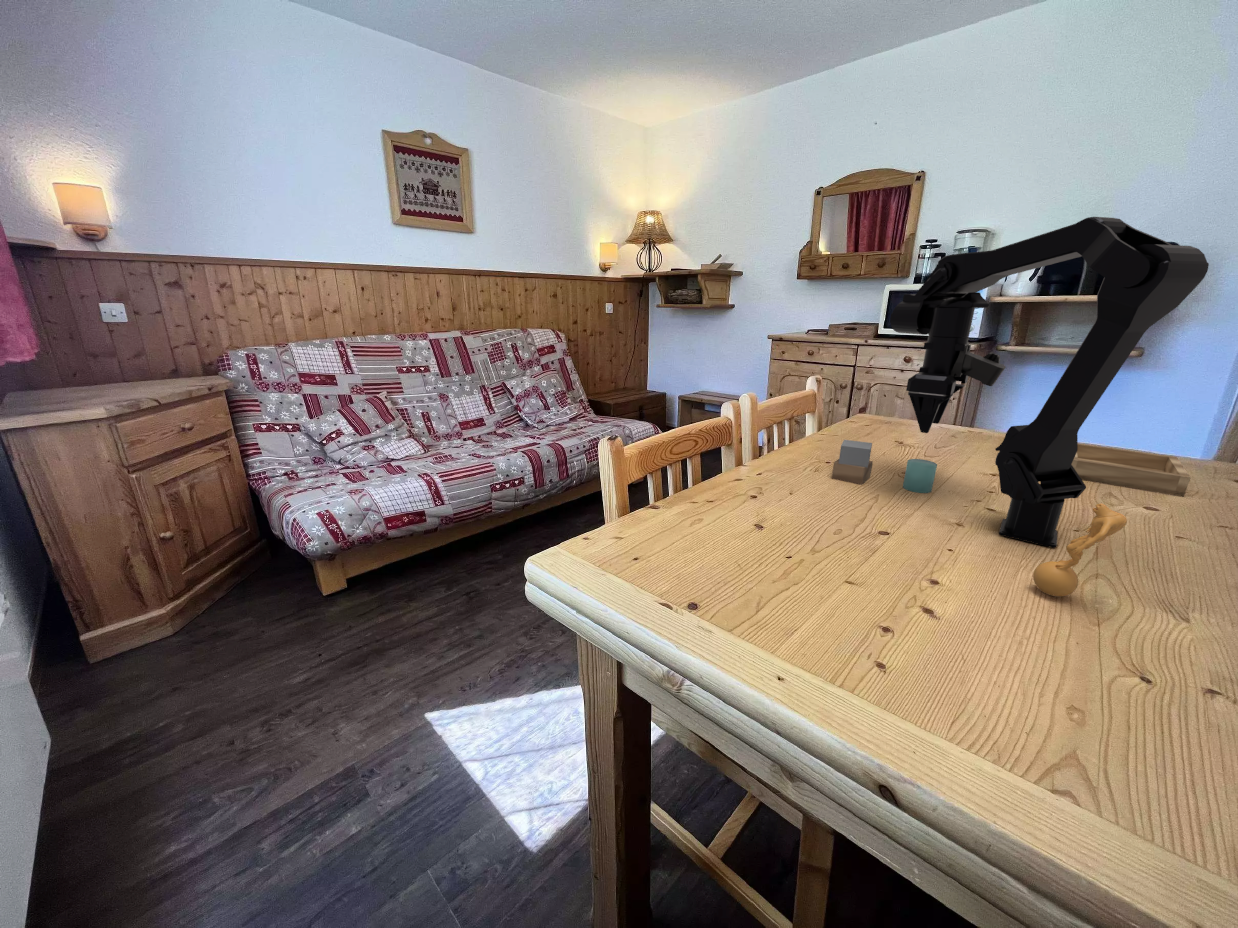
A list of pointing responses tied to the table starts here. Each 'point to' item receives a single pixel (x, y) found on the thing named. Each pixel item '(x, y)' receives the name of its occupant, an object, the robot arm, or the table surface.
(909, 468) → the teal cylinder
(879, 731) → the table surface
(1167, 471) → the tray
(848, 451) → the block upper
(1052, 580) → the figurine
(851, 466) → the block lower
